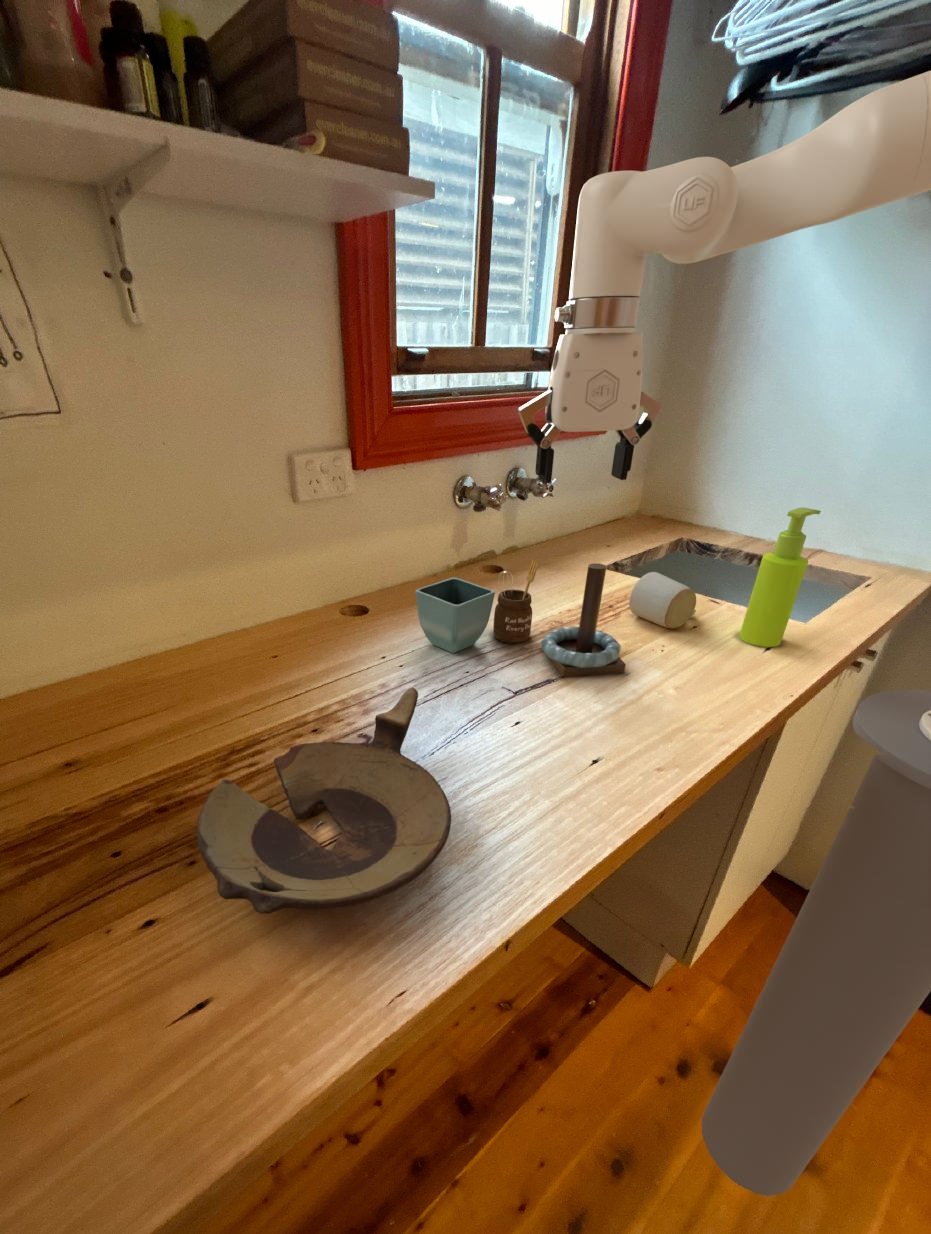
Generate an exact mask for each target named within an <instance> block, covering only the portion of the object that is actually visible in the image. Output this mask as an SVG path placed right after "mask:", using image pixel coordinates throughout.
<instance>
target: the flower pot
mask: <svg viewBox="0 0 931 1234" xmlns="http://www.w3.org/2000/svg"><path fill="white" fill-rule="evenodd" d="M495 594H496V591H495V590H493V589H490V588H488V587H484V586H481V585H479V584H476V583H473V582H470V581H468V580H464V579H461V578H458V577H450V578H446V579H443V580H441V581H438V582H436V583H435V582H434V583H433V584H429V585H426V586H423V587H420V588H417V589H415V600H416V601H415V602H416V609H417V616H418V621H419V624H420V627H421V630H422V632H423V634H424V635H425V637H426V638H427V640H428V642H429V643H430V644H432V645H434V646H436V647H438V648H440V649H443V650H444V651H447V652H449V653H452V654H456V653H458V652H459V651H462V650H464V649H467V648H469V647H471V646H474V645H475V644H476V643H477V642H478V640H479V639H480V638H481V636H482V635H483V633H484V632H485V630H486V628H487V626H488V623H489V620H490V617H491V613H492V608H493V605H494V604H493V603H494V599H495Z"/></svg>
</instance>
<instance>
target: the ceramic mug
mask: <svg viewBox="0 0 931 1234" xmlns="http://www.w3.org/2000/svg"><path fill="white" fill-rule="evenodd" d="M696 606H697V595H696V592H695V591H694V590H693V589H692V588H690V587H689V586H687V585H686V584H683V583H681V582H678V581H676V580H674V579H673V578H670V577H669V576H667V575H664V574H662V573H659V572H657V571H650V572H647V573H646V574H643V576H641V578H639V579H638V581H637V582H636V583H635V585H634V586H633V588H632V590H631V593H630V595H629V602H628V607H629V610H630V612H631V613H632V614H634V616H635V615H636V616H638V618H639V617H640V618H642V619H644V620H647V621H649V622H651V623H654V624H655V625H659V626H661V627H663V628H667V629H678V628H680V627H682V626H684V624H686V623H687V622H688V621H689V619H693V617H694V615H695V614H696V612H697V610H696V609H695V608H696Z"/></svg>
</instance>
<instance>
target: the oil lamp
mask: <svg viewBox="0 0 931 1234" xmlns="http://www.w3.org/2000/svg"><path fill="white" fill-rule="evenodd" d="M401 695H402V696H401V697H400V698H399V700H398V701H397V703H396V704H395V705H394V706H393V707H392V708H391V709H390V710H388V711H386V712H381V713H378V714H376V715H375V718H374V721H375V727H374V731H373V734H374V735H373V738H372V740H371V741H370V742H365V741H363V742H342V741H321V742H308V743H305V742H304V743H300V744H298V745H293V746H291V747H290V748H289V750H288V751H287V752H286V753H284V754H283V755H278V756H277V757H275V758H274V759H273V764H274V766H275V769H276V770H275V771H276V773H277V775H278V777H279V781H280V782H281V786H282V789H283V790H284V795H285V796H286V797H287V800H288V803H289V808H290V809H291V811H292V814H293V816H294V817H295V820H297V821H298V820H302V819H304V818H306V817H307V816H310V815H311V814H312V813H313V812H315V811H316V810H317V809H318V808H319V805H322V804H323V805H324V806H325V808H326V810H327V812H328V814H330V817H331V818H332V820H333V821H334V822H335V823H336V824H337V825H338V826H339V827H340V829H341V830H342V832H341V833H340V835H339V836H338V838H337V839H336V841H335V844H334V845H333V847H332V848H331V849H326V848H325V847H323V846H322V845H321V844H320V843H319V842H318V840H317V839H314V838H313V837H312V836H311V835H309V833H307V832H306V830H304V829H302V827H300V826H299V825H298V824H296V823H295V822H294V821H292V820H290V819H289V817H286V816H284V815H283V814H282V813H281V814H280V812H278V811H276V810H274V809H273V808H271V807H269V806H267V805H266V804H265V803H263V802H260V801H258V800H256V799H255V798H254V797H253V796H252V795H251V794H250V793H248V792H246V791H244V790H243V789H242V788H241V787H240V786H238V784H236V783H235V782H234V781H233V780H230V779H222V780H221V782H220V783H219V784H218V785H217V786H216V787H215V788H213V789H212V790H211V792H210V793H208V795H207V797H206V799H205V801H204V803H203V805H202V808H201V809H200V812H199V814H198V816H197V817H198V818H197V826H196V835H197V838H196V839H197V844H198V848H199V851H200V854H201V857H202V860H203V862H204V863H205V865H206V867H207V869H208V870H209V871H210V872H211V874H212V875H213V876H214V878H215V880H216V882H217V887H216V888H217V894H218V895H219V896H220V897H221V898H222V899H225V900H241V899H243V900H247V901H249V902H250V903H251V905H252V907H253V910H255V912H256V913H258V914H261V915H268V914H272V913H274V912H278V911H280V910H283V909H290V910H291V909H294V910H304V911H306V910H307V911H310V910H311V911H318V910H320V911H321V910H332V909H333V910H334V909H340V908H341V909H342V908H347V907H351V906H357V905H360V904H361V905H362V904H364V903H368V902H371V901H373V900H377V899H379V898H381V897H384V896H386V895H390V894H391V893H393V892H395V891H397V890H399V889H401V888H403V887H404V886H406V885H408V884H409V883H411V882H412V881H414V880H415V879H417V878H418V877H420V876H421V875H422V874H423V873H424V872H425V871H426V870H428V869H429V867H430V866H431V865H432V864H433V863H434V862H435V860H436V859H437V858H438V856H439V855H440V854H441V852H442V850H443V849H444V847H445V845H446V843H447V840H448V838H449V835H450V832H451V826H452V810H451V806H450V802H449V800H448V797H447V795H446V793H445V790H444V789H442V786H441V785H440V783H439V782H438V781H437V779H436V778H435V777H434V776H433V774H431V773H430V772H429V771H428V770H427V769H425V767H423V766H421V764H419V763H417V762H416V761H414V760H412V759H410V758H409V757H406V756H405V755H403V754H402V752H401V749H402V745H403V743H404V741H405V739H406V736H407V733H408V730H409V728H410V725H411V721H412V719H413V717H414V714H415V710H416V706H417V703H418V699H419V692H418V690H417V688H415V687H410V688H408V689H406V691H404V693H402V694H401ZM324 822H325V820H319V822H318V823H317V824H316V825H315V826H314V828H313V831H315V830H316V828H317V827H318V826H319V825H321V824H322V823H324Z"/></svg>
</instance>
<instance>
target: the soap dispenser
mask: <svg viewBox="0 0 931 1234" xmlns="http://www.w3.org/2000/svg"><path fill="white" fill-rule="evenodd" d="M821 512H822V511H821V510H818V509H813V508H809V507H798V508H795V509H792V510H789V511H788V512H787V515H786V516H787V517H791V518H790V521H789V524H788V528H787V529H786V530H784V531H781V532H779V535H778V538H777V541H776V545H775V547H774V551H773V552H766V553H764V554H763V555H762V558H761V561H760V565H759V567H758V571H757V575H756V578H755V580H754V585H753V588H752V591H751V595H750V597H749V601H748V604H747V608H746V611H745V614H744V618H743V620H742V625H741V628H740V631H739V634H738V636H739V638H740V640H742V641H743V642H745V643H747V644H750V645H753V646H757V647H763V648H774V647H778V646H780V645H781V643H782V641H783V638H784V634H785V632H786V629H787V626H788V623H789V620H790V618H791V614H792V611H793V608H794V605H795V603H796V599H797V597H798V593H799V590H800V587H801V584H802V582H803V579H804V576H805V572H806V570H807V567H808V564H809V559H808V558H806V557H804V556H802V555H801V554H802V551H803V547H804V546H805V545H804V544H805V542H806V538H807V535H806V534H804V532H802V529H803V527H804V524H805V521H806V517H809V516H812V515H820V514H821Z"/></svg>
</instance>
